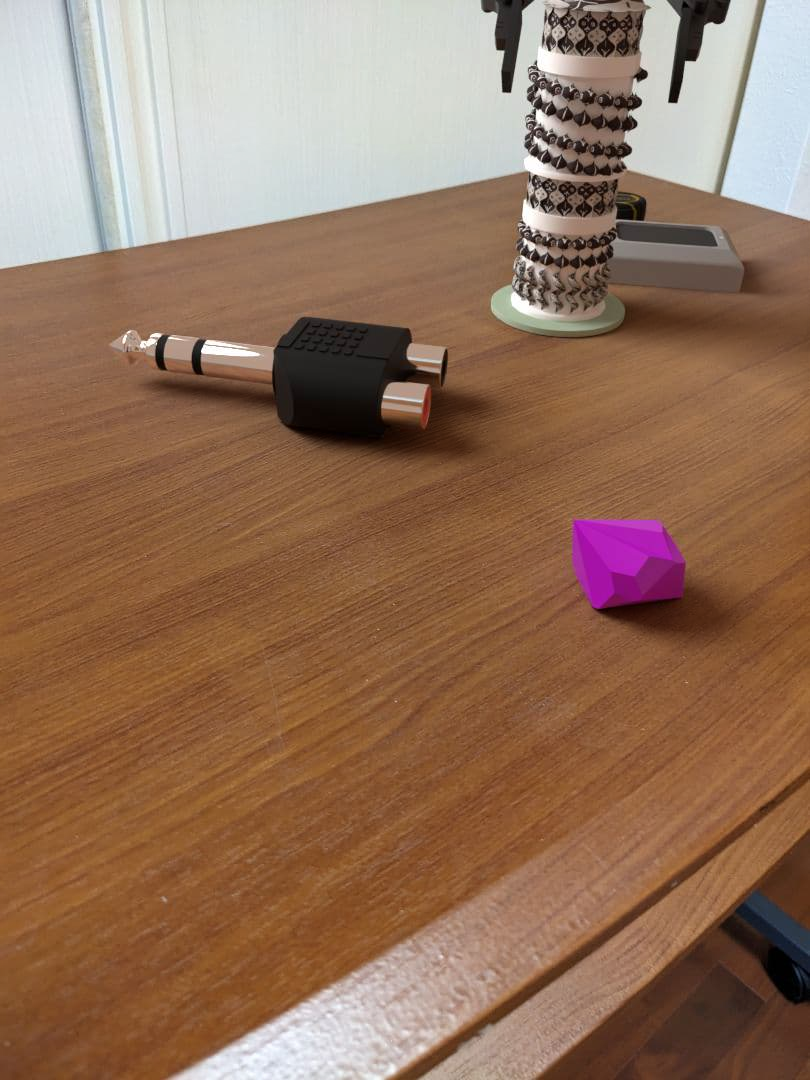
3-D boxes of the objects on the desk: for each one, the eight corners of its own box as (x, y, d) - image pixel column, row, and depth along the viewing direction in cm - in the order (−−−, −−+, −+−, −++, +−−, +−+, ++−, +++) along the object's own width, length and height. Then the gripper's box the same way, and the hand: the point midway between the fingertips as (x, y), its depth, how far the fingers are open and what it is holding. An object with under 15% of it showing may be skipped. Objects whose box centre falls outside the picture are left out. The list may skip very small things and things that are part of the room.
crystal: (621, 636, 48) (636, 566, 45) (551, 581, 51) (562, 513, 49) (688, 602, 50) (707, 533, 48) (618, 552, 54) (631, 485, 51)
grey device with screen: (584, 213, 95) (733, 223, 94) (579, 248, 97) (724, 259, 96) (586, 243, 87) (748, 254, 86) (581, 281, 90) (739, 292, 88)
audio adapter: (421, 385, 59) (64, 340, 63) (418, 457, 62) (78, 410, 66) (452, 320, 67) (136, 284, 72) (448, 386, 71) (146, 348, 75)
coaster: (652, 317, 83) (653, 310, 82) (557, 349, 77) (557, 342, 76) (556, 277, 90) (557, 271, 90) (463, 303, 84) (464, 297, 84)
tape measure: (637, 221, 105) (642, 188, 103) (646, 240, 100) (652, 205, 98) (577, 219, 106) (581, 185, 103) (583, 238, 100) (588, 203, 98)
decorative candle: (537, 277, 88) (571, -28, 74) (626, 300, 84) (681, -19, 69) (487, 306, 82) (513, -21, 67) (580, 332, 78) (630, -10, 63)
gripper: (765, -98, 80) (738, 125, 76) (479, -106, 83) (442, 106, 80) (788, -179, 72) (759, 65, 69) (474, -183, 76) (433, 47, 73)
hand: (589, 87), depth 75 cm, fingers open, 13 cm apart
